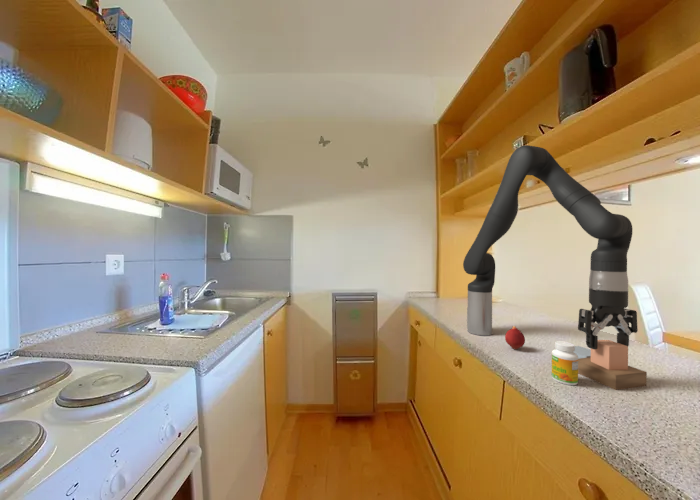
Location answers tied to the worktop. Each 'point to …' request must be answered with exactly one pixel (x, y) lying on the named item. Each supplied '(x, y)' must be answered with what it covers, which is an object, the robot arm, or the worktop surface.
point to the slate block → (582, 352)
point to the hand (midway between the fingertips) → (607, 348)
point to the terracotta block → (610, 355)
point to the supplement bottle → (565, 363)
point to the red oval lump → (515, 338)
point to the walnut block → (612, 375)
